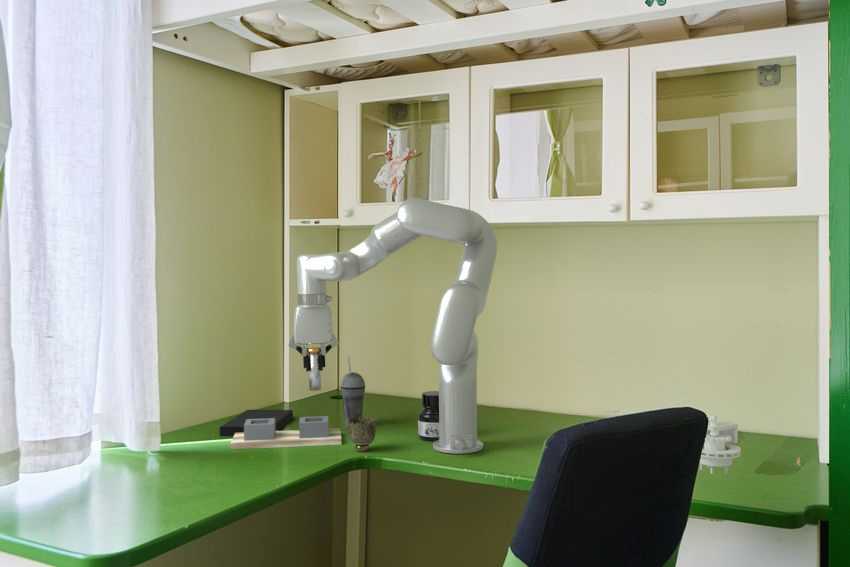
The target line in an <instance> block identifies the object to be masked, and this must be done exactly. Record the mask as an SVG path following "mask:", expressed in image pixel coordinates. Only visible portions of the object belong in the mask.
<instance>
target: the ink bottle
mask: <svg viewBox="0 0 850 567" xmlns="http://www.w3.org/2000/svg"><path fill="white" fill-rule="evenodd" d="M421 406H422V408H423V409H421V411H420V412H419V413H418V420H417V427H418V428H417V429H418V432H417V433H418V438H419V439H421V440H424V441H431V442H435V441H437V440H439V390H430V391H423V392H421Z"/></svg>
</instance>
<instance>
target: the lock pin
mask: <svg viewBox="0 0 850 567" xmlns="http://www.w3.org/2000/svg"><path fill="white" fill-rule="evenodd" d="M307 353H308V356H309V371H308V382H309V385H308V386H309V387H308V388H309V391H315V392H316V391H320V390H322V383H321V382H322V381H321V379H322V378H321V377H322V376H321V370H320V353H321V346H320V347H319V346H318V347H316V346H315V347H314V346H313V347H307Z"/></svg>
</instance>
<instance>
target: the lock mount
mask: <svg viewBox="0 0 850 567" xmlns="http://www.w3.org/2000/svg"><path fill="white" fill-rule="evenodd" d="M298 424H299V426H298V427H299V428H298V430H299V438H323V437H329V431H328V429H329V416H328V415H323V416H321V415H319V416H299V422H298Z"/></svg>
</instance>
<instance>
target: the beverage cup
mask: <svg viewBox="0 0 850 567" xmlns="http://www.w3.org/2000/svg"><path fill="white" fill-rule="evenodd" d="M346 358H347V364H348V365H347V367H348V373H346V374H344V376H343V377H342V378H341V381H340V385H339V388H340V392H341V397H342V408H343V417H344V425H345V429H348V423H347V420H348V421H349V418H351V419H352V417H356V418H357V419H358V418H359V417H361V419H362V418H363V410H364V409H363V408H364V396H365V395H364V394H365V393H366V383H365V380H364V377H363V376H362V375H361V374H360V373H357V372H352V368H351V361H350V357H349V356H348V357H346Z"/></svg>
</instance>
